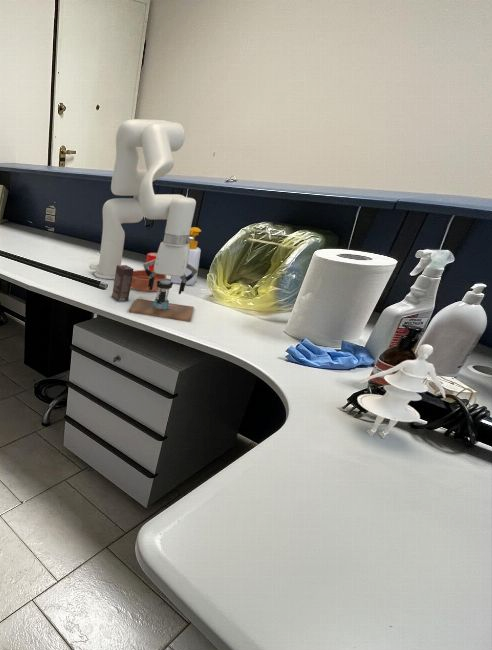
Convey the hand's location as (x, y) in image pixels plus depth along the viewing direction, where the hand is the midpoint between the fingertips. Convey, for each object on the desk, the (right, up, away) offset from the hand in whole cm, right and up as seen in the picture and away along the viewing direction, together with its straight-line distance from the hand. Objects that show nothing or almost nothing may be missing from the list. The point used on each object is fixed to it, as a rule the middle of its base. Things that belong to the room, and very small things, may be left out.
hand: (165, 291), depth 140 cm
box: (-12, 0, +14) cm, 18 cm away
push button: (0, -5, +3) cm, 6 cm away
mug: (+14, +19, +48) cm, 53 cm away
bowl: (+2, +8, +27) cm, 29 cm away
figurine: (+21, -42, -58) cm, 75 cm away
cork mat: (0, -6, +3) cm, 7 cm away
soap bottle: (+19, +11, +33) cm, 40 cm away
